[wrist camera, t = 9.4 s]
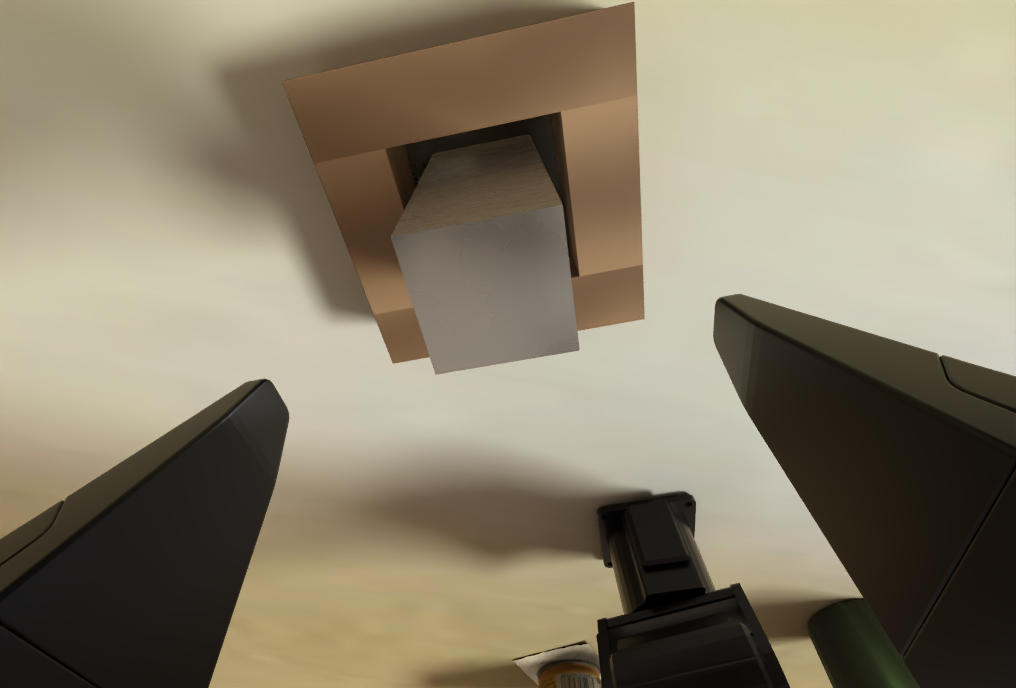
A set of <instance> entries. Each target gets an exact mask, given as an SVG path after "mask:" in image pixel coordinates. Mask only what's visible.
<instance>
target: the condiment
mask: <svg viewBox="0 0 1016 688" xmlns="http://www.w3.org/2000/svg"><path fill="white" fill-rule="evenodd" d="M514 662H515V663H516V665H517V666H519V667H520V668H521V670H522V671H524V672H525V674H526V675H528V676H529V677H530V678H531V679H532V680H533V681H534V682H535V683H536V684H537V685H538V686H539V688H601V675H600V664H599V656H598V655H597V654H596V652H595V651H594V650H593V649H592V648H591V646H590V645H589V644H584V645H575V646H570V647H566V648H560V649H556V650H552V651H549V652H545V651H544V652H542V653H540V654H538V655H534V656H528V657H525V658H523V659H519V660H515V661H514ZM543 662H544V663H543ZM542 664H543V665H542ZM541 665H542V666H541Z"/></svg>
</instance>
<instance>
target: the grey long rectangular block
mask: <svg viewBox="0 0 1016 688" xmlns="http://www.w3.org/2000/svg"><path fill="white" fill-rule="evenodd" d="M391 240H392V243H393V246H394V249H395V252H396V255H397V258H398V261H399V264H400V267H401V270H402V273H403V276H404V280H405V283H406V286H407V289H408V292H409V295H410V298H411V301H412V304H413V307H414V310H415V313H416V316H417V319H418V322H419V325H420V328H421V331H422V334H423V337H424V340H425V343H426V347H427V350H428V353H429V356H430V359H431V362H432V365H433V368H434V371H435V374H442V373H448V372H454V371H460V370H465V369H471V368H477V367H483V366H489V365H495V364H501V363H507V362H513V361H519V360H525V359H531V358H537V357H543V356H549V355H554V354H560V353H566V352H572V351H578V350H579V342H578V333H577V325H576V316H575V307H574V299H573V290H572V281H571V273H570V264H569V255H568V247H567V238H566V229H565V220H564V212H563V204H562V202H561V200H560V198H559V196H558V194H557V192H556V190H555V187H554V185H553V183H552V181H551V179H550V177H549V175H548V173H547V171H546V168H545V166H544V164H543V162H542V160H541V158H540V156H539V154H538V152H537V149H536V147H535V145H534V143H533V141H532V139H531V137H530V135H529V134H527V135H522V136H517V137H512V138H507V139H502V140H497V141H492V142H487V143H482V144H477V145H472V146H467V147H462V148H457V149H452V150H447V151H442V152H437V153H433V155H432V157H431V159H430V161H429V163H428V165H427V167H426V169H425V171H424V172H423V174H422V176H421V178H420V180H419V182H418V184H417V186H416V188H415V190H414V192H413V194H412V196H411V198H410V200H409V202H408V204H407V206H406V208H405V210H404V212H403V214H402V216H401V218H400V220H399V222H398V224H397V226H396V228H395V230H394V232H393V234H392V236H391Z"/></svg>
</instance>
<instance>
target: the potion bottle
mask: <svg viewBox="0 0 1016 688" xmlns="http://www.w3.org/2000/svg"><path fill="white" fill-rule="evenodd" d="M808 633H809V635H810V638H811V640H812V642H813V644H814V646H815V649H816V651H817V653H818V655H819V658H820V660H821V662H822V664H823V666H824V669H825V671H826V673H827V675H828V677H829V680H830V682H831V684H832V686H833V688H920V687H919V686H918V684H917V682H916V681H915V679H914V678H913V676H912V674H911V673H910V671H909V670H908V668H907V667H906V665H905V663H904V662H903V657H902V656H900V655H899V653H898V652H897V650H896V648H895V647H894V645H893V644H892V642H891V640H890V639H889V637H888V636H887V634H886V632H885V631H884V629H883V628H882V626H881V625H880V623H879V621H878V620H877V618H876V617H875V615H874V613H873V612H872V610H871V609H870V607H869V605H868V604H867V602H866V601H865V600H850V601H845V602H840V603H837V604H834V605H832V606H829V607H827V608H824V609H823V610H821V611H820V612H818V613H817V614H815V615H814V617H813V618H812V619H811V621H810V622H809V630H808Z"/></svg>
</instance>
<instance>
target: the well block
mask: <svg viewBox="0 0 1016 688" xmlns="http://www.w3.org/2000/svg"><path fill="white" fill-rule="evenodd" d="M282 83H283V86H284V88H285V91H286V93H287V96H288V98H289V101H290V103H291V106H292V109H293V111H294V114H295V116H296V119H297V121H298V124H299V126H300V129H301V131H302V134H303V136H304V139H305V141H306V144H307V147H308V149H309V152H310V154H311V157H312V159H313V162H314V164H315V167H316V169H317V172H318V174H319V177H320V180H321V182H322V185H323V187H324V190H325V192H326V195H327V197H328V200H329V202H330V205H331V207H332V210H333V212H334V215H335V218H336V220H337V223H338V225H339V228H340V230H341V233H342V235H343V238H344V240H345V243H346V245H347V248H348V251H349V253H350V256H351V258H352V261H353V263H354V266H355V268H356V271H357V273H358V276H359V278H360V281H361V283H362V286H363V289H364V291H365V294H366V296H367V299H368V301H369V304H370V306H371V309H372V311H373V314H374V316H375V319H376V322H377V324H378V327H379V329H380V332H381V334H382V337H383V339H384V342H385V344H386V347H387V349H388V352H389V354H390V357H391V360H392V362H393V363H399V362H405V361H410V360H416V359H421V358H427V357H430V356H429V353H428V350H427V347H426V343H425V340H424V337H423V334H422V331H421V328H420V325H419V322H418V319H417V316H416V313H415V310H414V307H413V304H412V301H411V298H410V295H409V292H408V289H407V286H406V283H405V280H404V276H403V273H402V270H401V267H400V264H399V261H398V258H397V255H396V252H395V249H394V246H393V243H392V240H391V236H392V234H393V232H394V230H395V228H396V226H397V224H398V222H399V220H400V218H401V216H402V214H403V212H404V210H405V208H406V206H407V204H408V202H409V200H410V198H411V196H412V194H413V192H414V190H415V188H416V182H415V179H414V175H413V172H412V168H411V165H410V161H409V158H408V154H407V151H406V148H405V144H410V143H415V142H419V141H424V140H429V139H433V138H438V137H443V136H448V135H452V134H457V133H462V132H467V131H471V130H476V129H481V128H486V127H490V126H495V125H500V124H505V123H509V122H514V121H519V120H523V119H528V118H533V117H538V116H542V115H547V114H551V119H552V127H553V135H554V144H555V152H556V160H557V168H558V176H559V184H560V192H561V200H562V204H563V212H564V220H565V229H566V238H567V247H568V255H569V264H570V273H571V281H572V290H573V299H574V307H575V316H576V325H577V331H579V330H585V329H590V328H596V327H602V326H607V325H613V324H618V323H624V322H630V321H635V320H641V319H644V289H643V258H642V228H641V197H640V166H639V135H638V104H637V74H636V43H635V12H634V2H631V3H626V4H622V5H617V6H613V7H609V8H604V9H600V10H595V11H591V12H586V13H582V14H577V15H573V16H569V17H564V18H560V19H555V20H551V21H546V22H542V23H538V24H533V25H529V26H524V27H520V28H515V29H511V30H506V31H502V32H498V33H493V34H489V35H484V36H480V37H475V38H471V39H467V40H462V41H458V42H453V43H449V44H444V45H440V46H435V47H431V48H427V49H422V50H418V51H413V52H409V53H404V54H400V55H396V56H391V57H387V58H382V59H378V60H373V61H369V62H364V63H360V64H356V65H351V66H347V67H342V68H338V69H333V70H329V71H325V72H320V73H316V74H311V75H307V76H302V77H298V78H293V79H289V80H285V81H282Z"/></svg>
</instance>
